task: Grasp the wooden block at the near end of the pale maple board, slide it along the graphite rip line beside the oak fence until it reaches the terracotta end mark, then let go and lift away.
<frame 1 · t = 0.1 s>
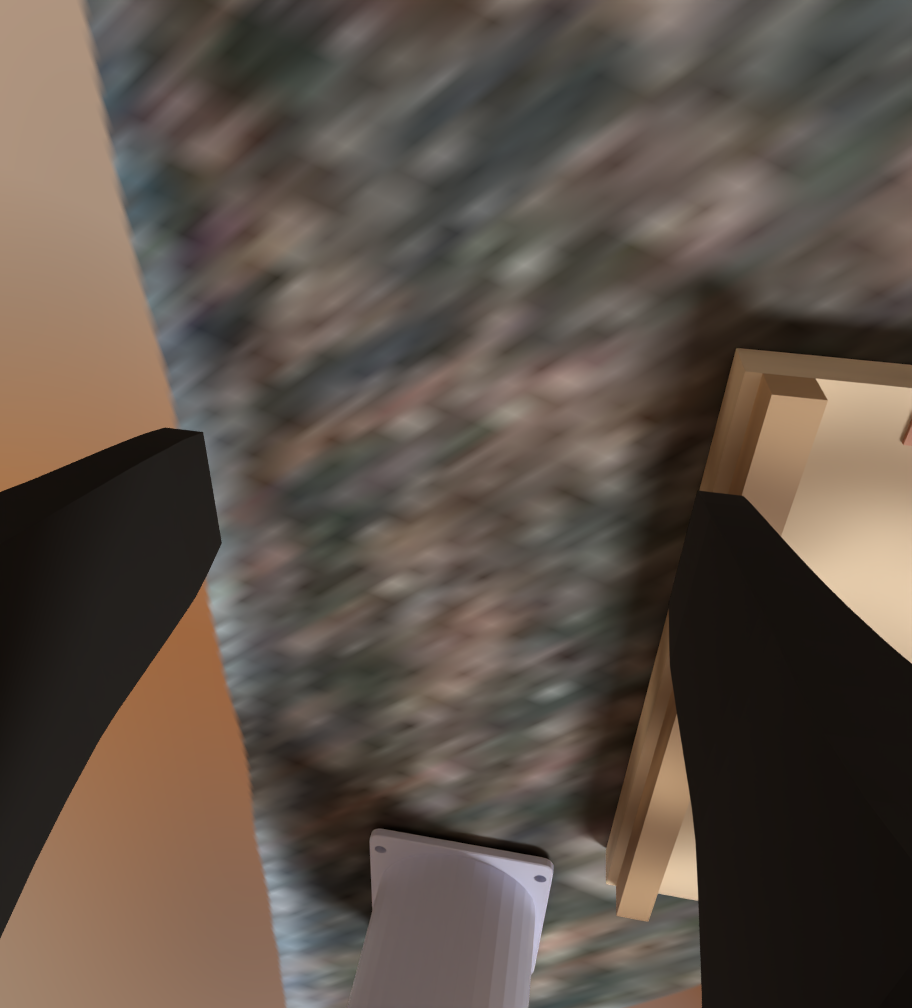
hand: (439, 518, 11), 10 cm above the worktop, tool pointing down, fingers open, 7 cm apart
board: (908, 696, 24), on the worktop
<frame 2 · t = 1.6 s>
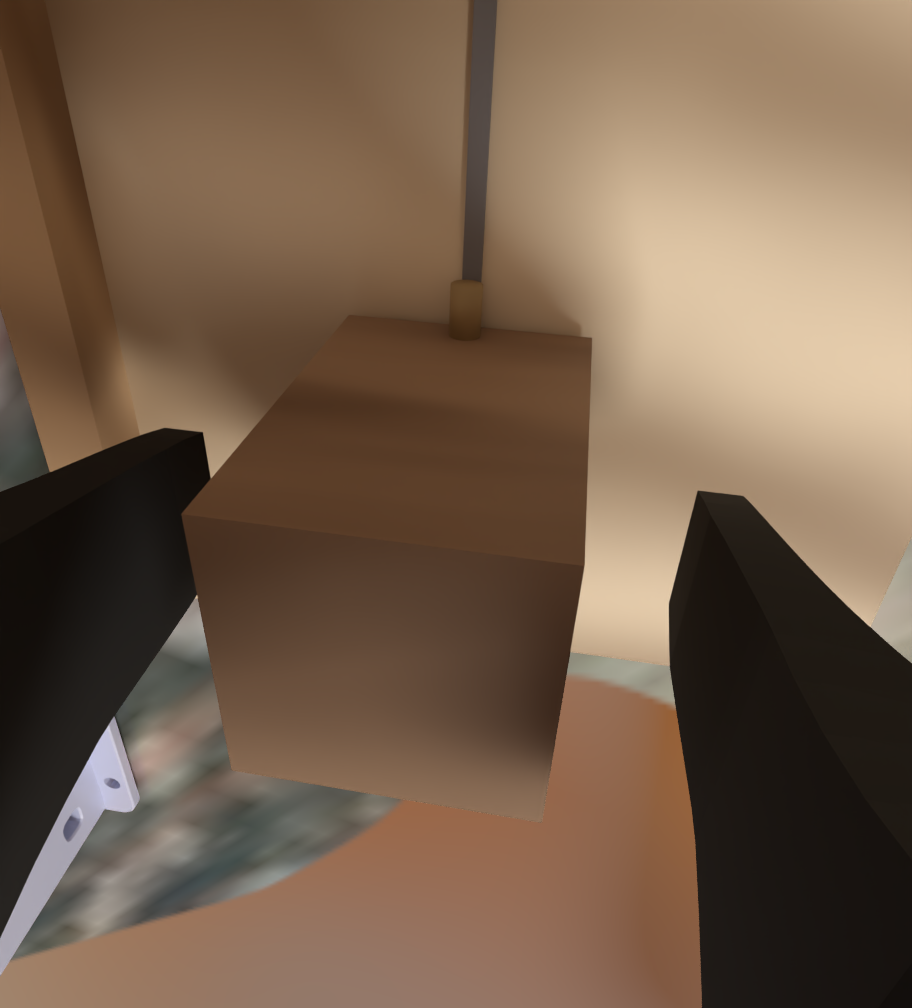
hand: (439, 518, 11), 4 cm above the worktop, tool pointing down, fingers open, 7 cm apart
board: (497, 34, 11), on the worktop
wooden block: (431, 508, 11), point 5 cm above the worktop, slide at 0.0 cm
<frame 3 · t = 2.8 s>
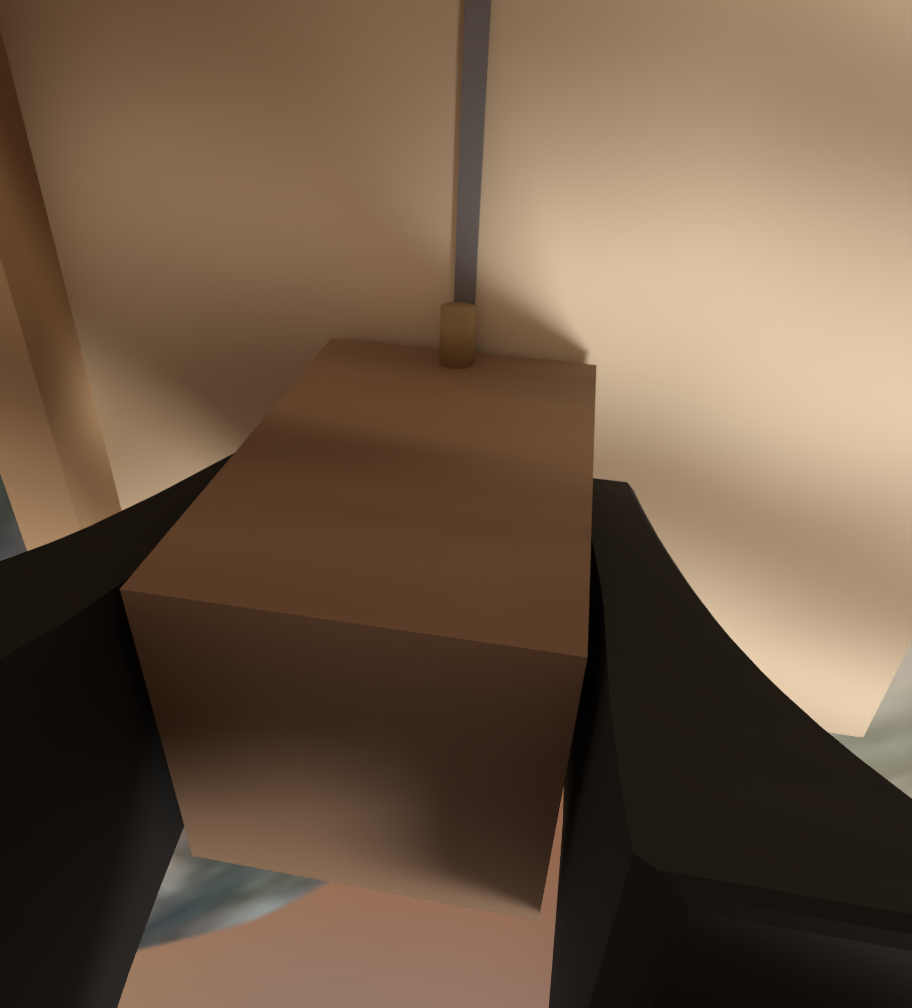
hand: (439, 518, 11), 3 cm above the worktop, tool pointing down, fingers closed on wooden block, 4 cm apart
board: (492, 31, 10), on the worktop
wooden block: (418, 557, 10), point 5 cm above the worktop, slide at 0.0 cm, touching gripper
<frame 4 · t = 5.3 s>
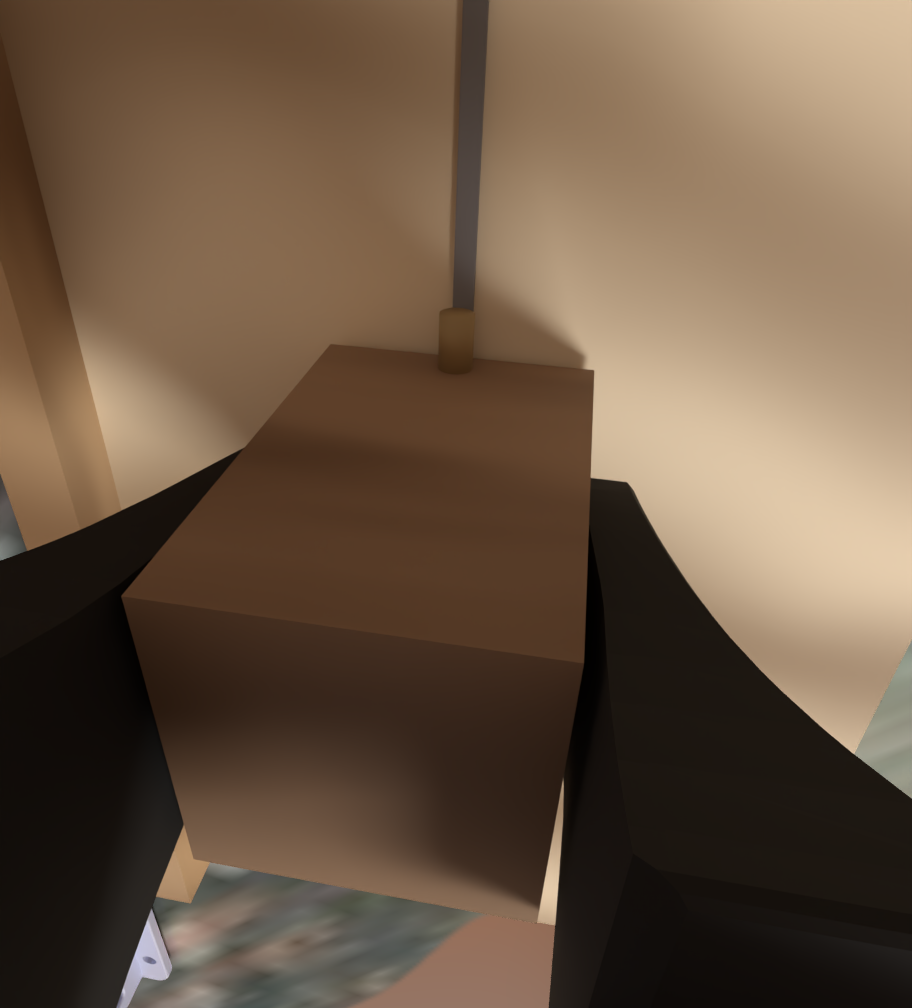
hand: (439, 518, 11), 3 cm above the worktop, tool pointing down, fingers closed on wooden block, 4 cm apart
board: (464, 536, 15), on the worktop
wooden block: (417, 562, 10), point 5 cm above the worktop, slide at 8.5 cm, touching gripper
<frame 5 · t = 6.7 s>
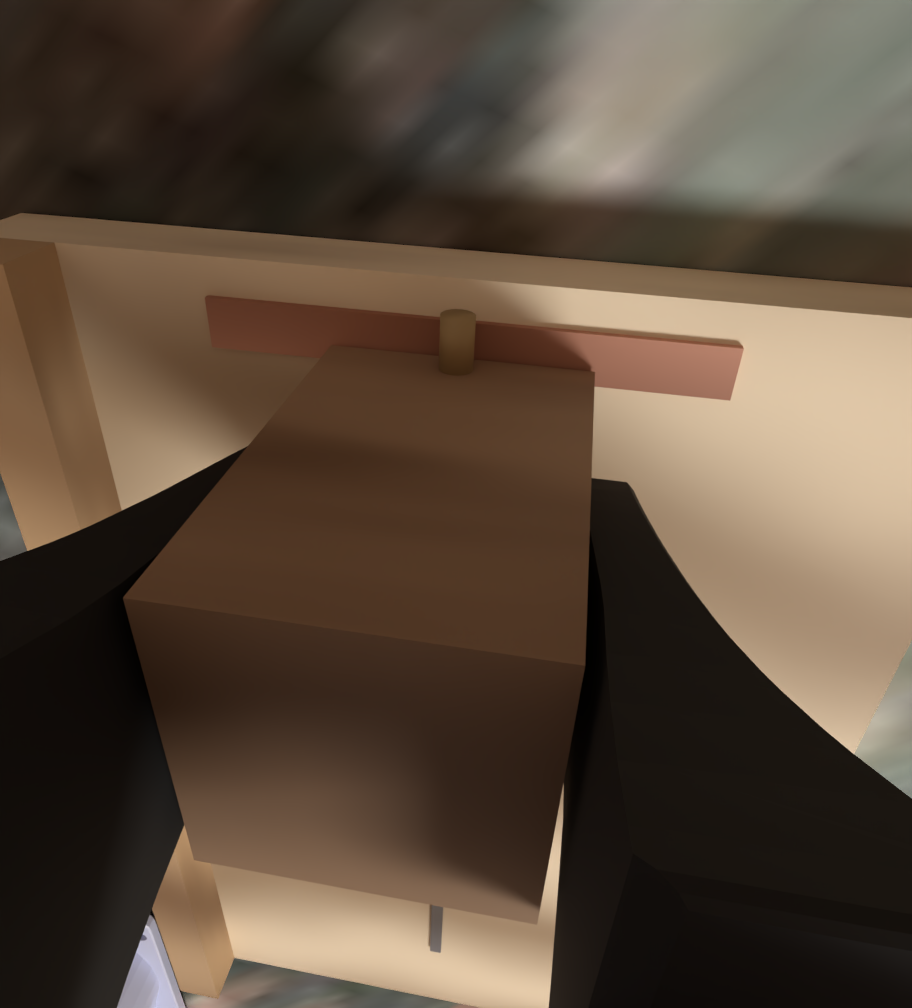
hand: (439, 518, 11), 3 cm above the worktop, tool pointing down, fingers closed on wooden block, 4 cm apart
board: (455, 716, 18), on the worktop
wooden block: (417, 564, 10), point 5 cm above the worktop, slide at 13.9 cm, touching gripper
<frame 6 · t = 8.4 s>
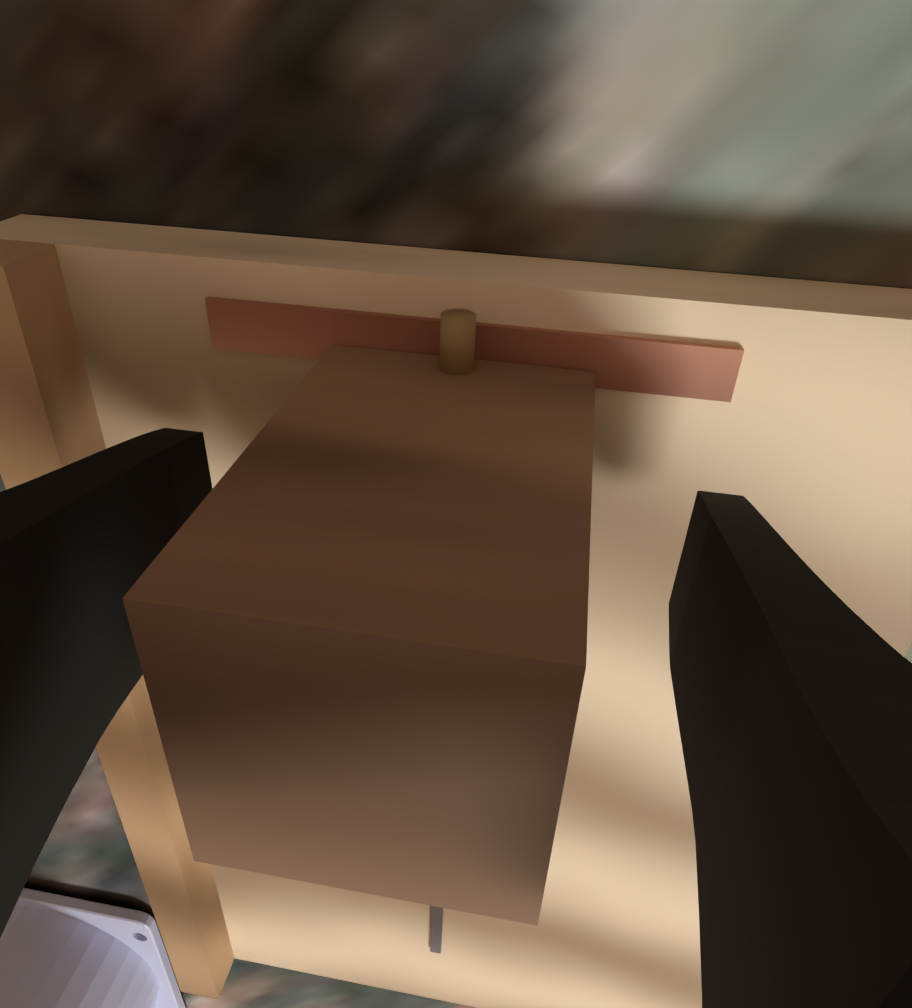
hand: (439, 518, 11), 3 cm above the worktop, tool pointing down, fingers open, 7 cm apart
board: (455, 717, 18), on the worktop
wooden block: (418, 564, 10), point 5 cm above the worktop, slide at 13.9 cm
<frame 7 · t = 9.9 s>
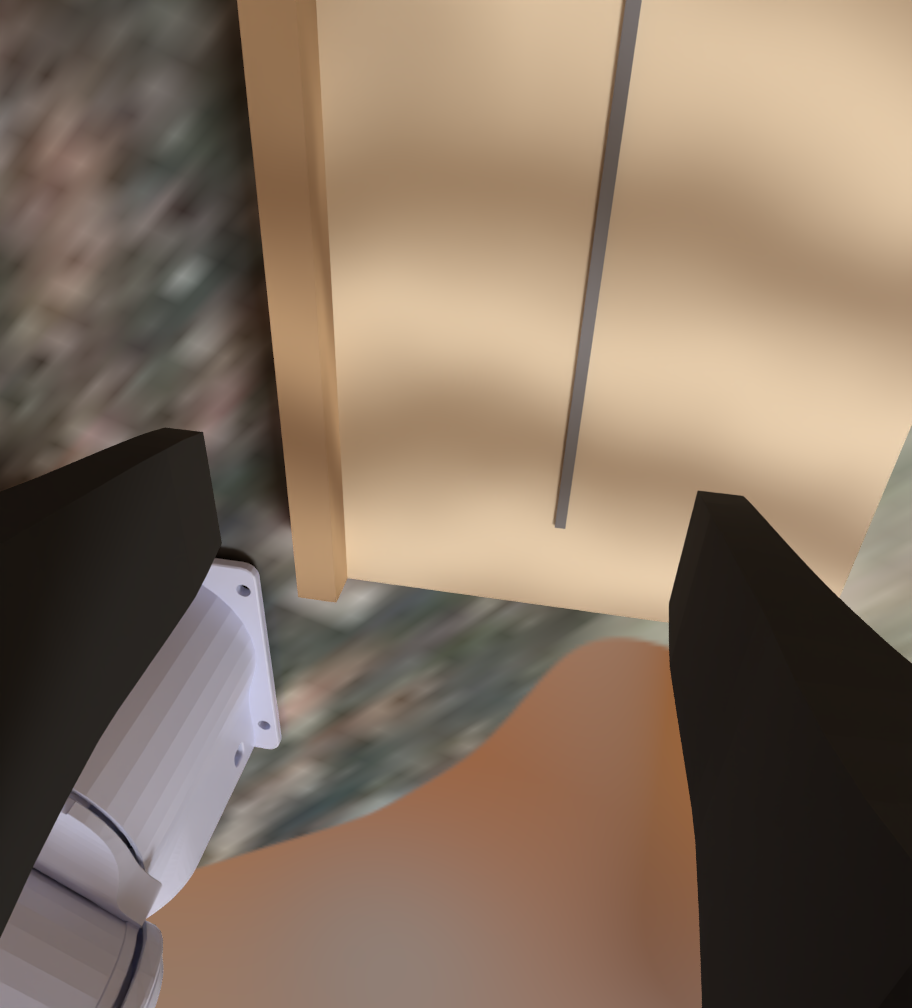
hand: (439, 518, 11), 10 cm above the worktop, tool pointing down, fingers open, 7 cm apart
board: (600, 223, 18), on the worktop
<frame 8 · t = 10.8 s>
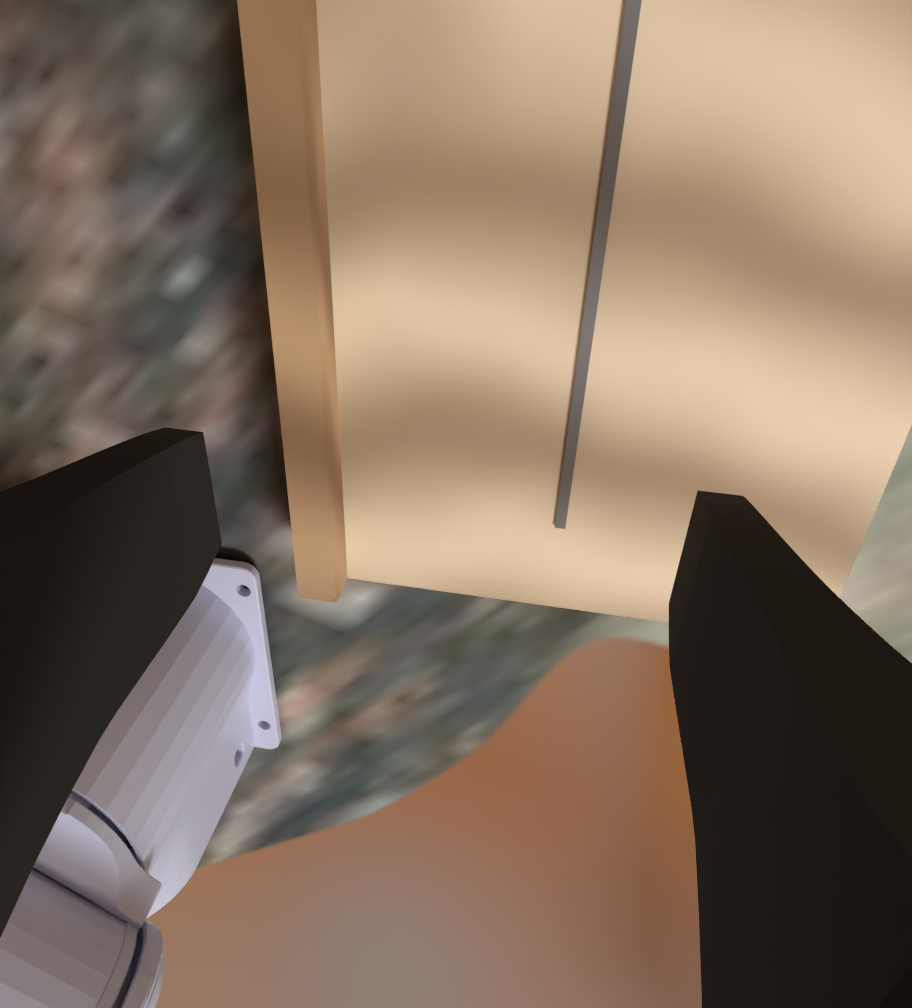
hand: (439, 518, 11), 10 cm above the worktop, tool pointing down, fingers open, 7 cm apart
board: (600, 223, 18), on the worktop
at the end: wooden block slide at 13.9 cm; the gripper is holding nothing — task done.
